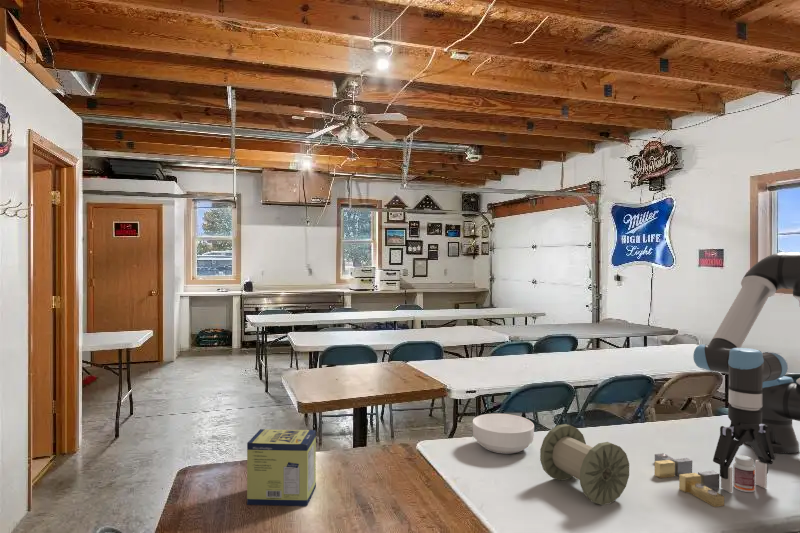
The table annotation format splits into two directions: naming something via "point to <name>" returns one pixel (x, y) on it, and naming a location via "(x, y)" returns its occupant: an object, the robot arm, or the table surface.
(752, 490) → the pill bottle
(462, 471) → the table surface
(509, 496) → the table surface
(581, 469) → the spool
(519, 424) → the bowl
